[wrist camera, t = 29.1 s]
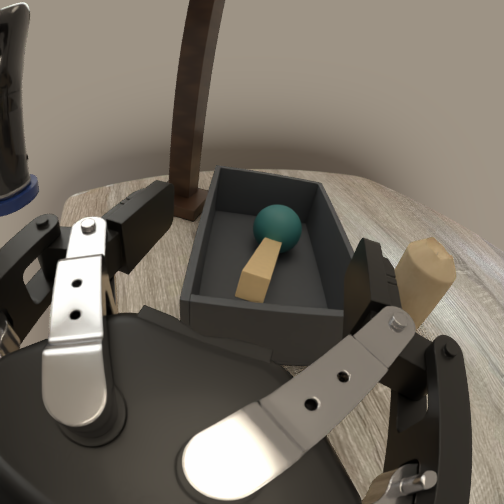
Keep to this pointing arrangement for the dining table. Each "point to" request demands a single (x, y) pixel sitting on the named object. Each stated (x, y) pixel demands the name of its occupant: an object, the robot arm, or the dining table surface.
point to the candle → (424, 277)
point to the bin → (284, 275)
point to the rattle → (268, 249)
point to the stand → (192, 105)
